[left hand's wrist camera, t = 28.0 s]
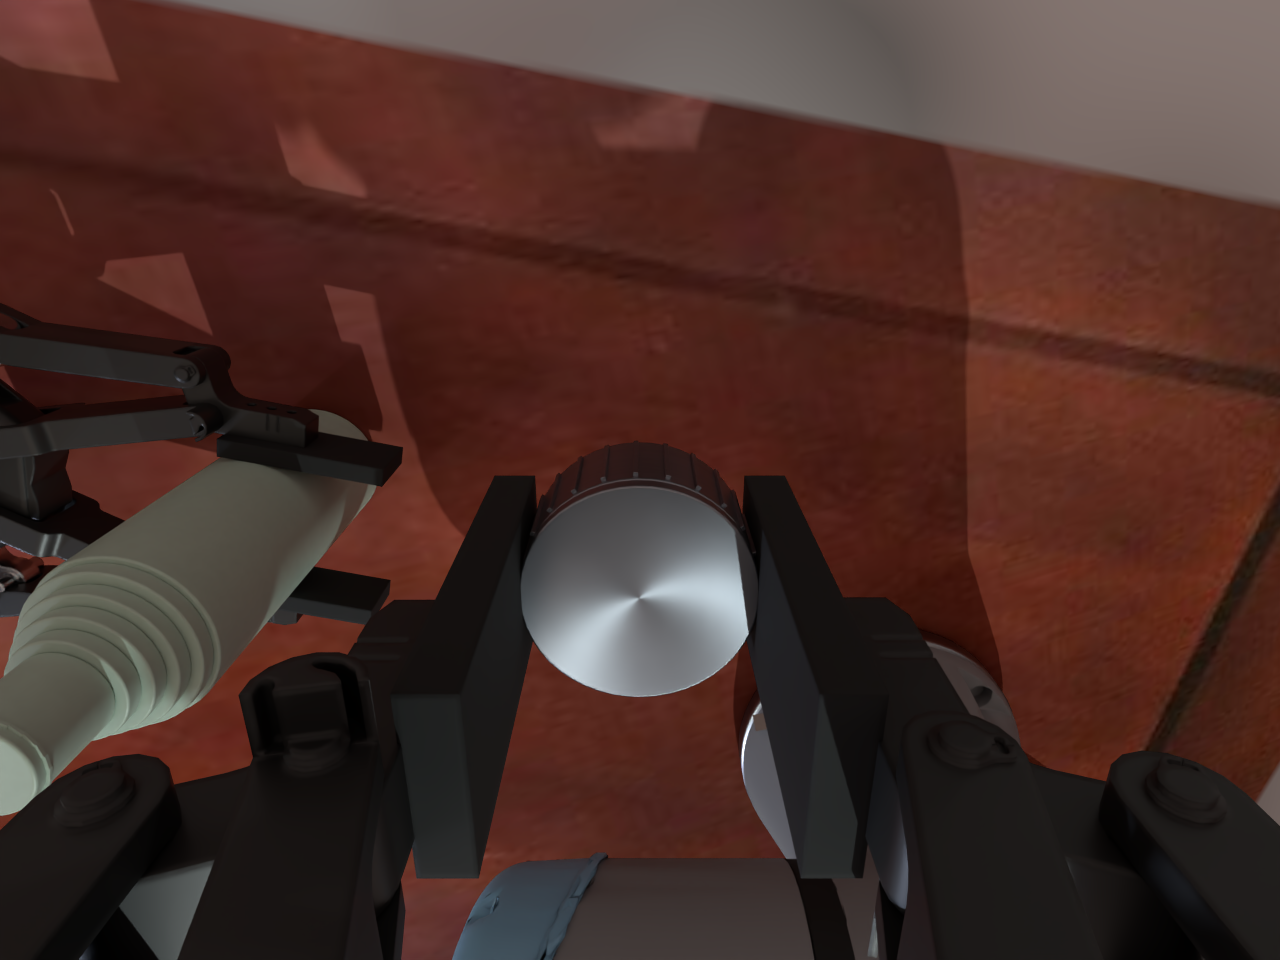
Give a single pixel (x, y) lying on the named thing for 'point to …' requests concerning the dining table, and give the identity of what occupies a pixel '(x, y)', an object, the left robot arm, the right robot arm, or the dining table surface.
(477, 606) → the left robot arm
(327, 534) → the bottle
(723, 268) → the dining table surface
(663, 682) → the cap
